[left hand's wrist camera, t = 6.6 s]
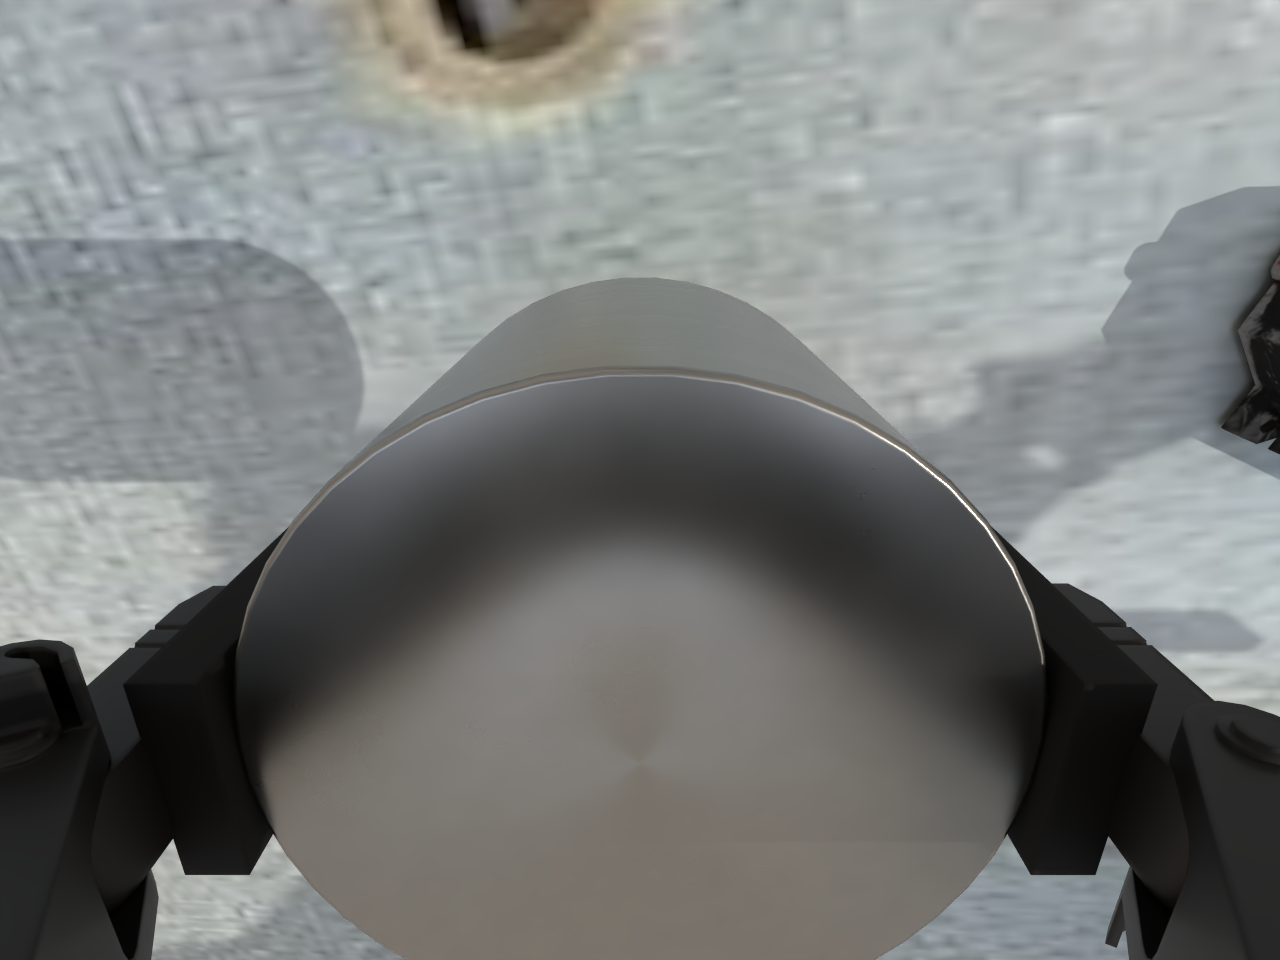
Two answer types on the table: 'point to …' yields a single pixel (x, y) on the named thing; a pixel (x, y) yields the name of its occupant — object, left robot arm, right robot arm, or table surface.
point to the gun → (1261, 370)
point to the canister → (640, 655)
